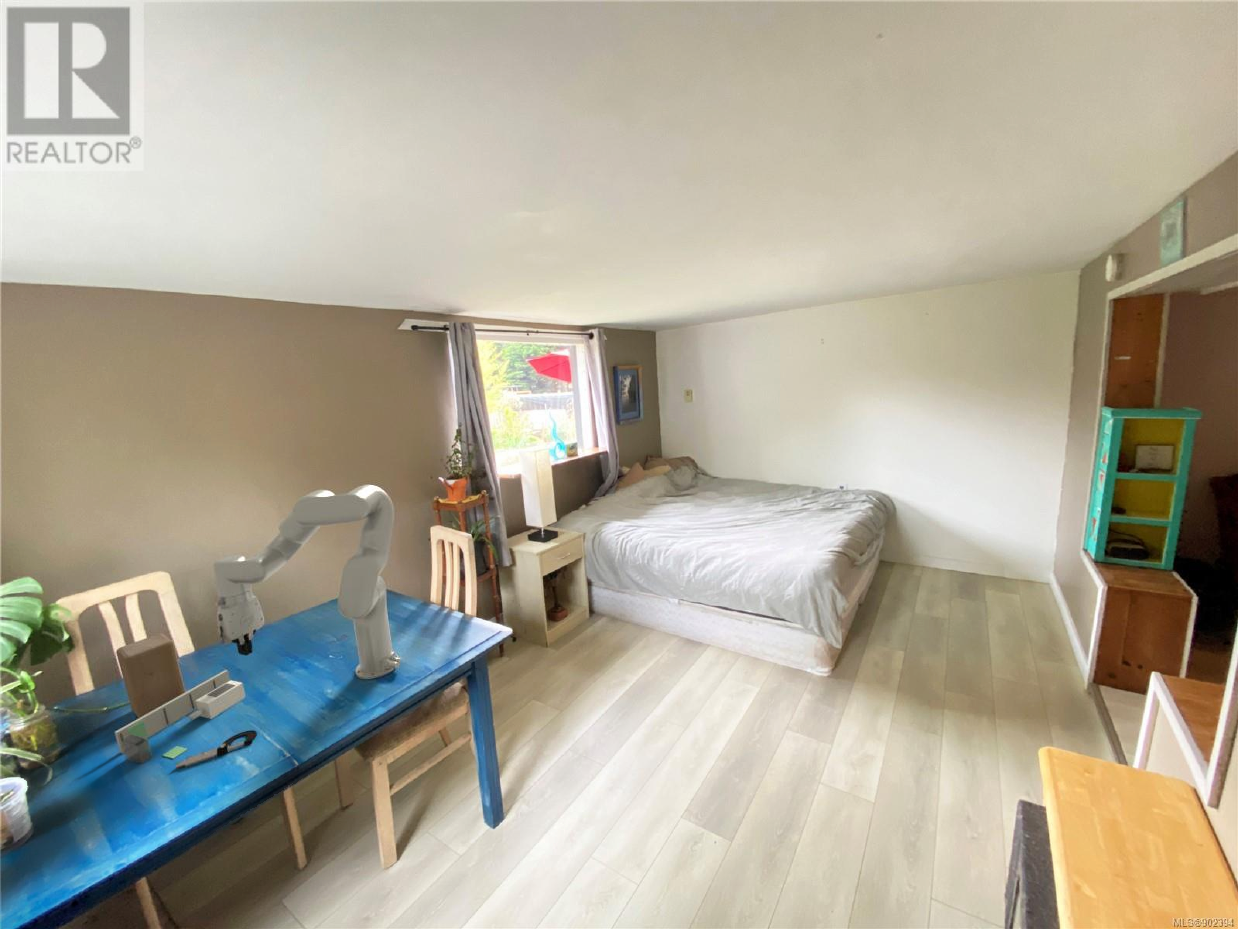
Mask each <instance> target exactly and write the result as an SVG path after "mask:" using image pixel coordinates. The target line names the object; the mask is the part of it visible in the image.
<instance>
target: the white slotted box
mask: <svg viewBox="0 0 1238 929" xmlns="http://www.w3.org/2000/svg"><path fill="white" fill-rule="evenodd" d="M243 684H244V683H243V682H241V681H236V680H232V679H230V681H228V682H227V683H225V684H223V685H222V686H220V687H218V688H216V689H215V690H213V691H211V692H210V693H208V694H206V695H204V696H203V697H201V698H199V699H198V700H196V705H197V709H196V710H195V711H193V712H191V714H188V718H189V720H190V721H193V720H195V719H197V718H198V717H203V718H205V719H210V720H212V719H214V718H216V717H217V716H218V715H220V714H222V713H223V712H225V711H226V710H229V709H230V708H231V707H233V706H235V705H236V704H237V703H239V702H241V701H242V700H243V699H244V700H245V698H246V693H245V692H246V691H245V688H244V685H243Z"/></svg>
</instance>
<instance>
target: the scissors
mask: <svg viewBox="0 0 1238 929" xmlns="http://www.w3.org/2000/svg"><path fill="white" fill-rule="evenodd" d="M257 736H258V731H257V730H254V729H253V730H246V731H242V732H239V733H238V734H237V733H236V734H234V735H233V736H230V737H229V738H227V739H226V740H225V741H223V742H222V743H221V744H220V745H219V747H217V748H212V749H209V750H207V751H203V752H201V753H198V754H194V755H191V756H188V757H186V758H185V759H184V760H183V761H179V762H176V763H175V768H176V769H180V768H183V767H185V768H188V767H191V766H194V765H196V764H199V763H202V762H206V761H208V760H212V759H215V758H216V757H219V756H222V755H226V754H229V752H230V750H234V749H236V748H237V749H238V748H239V747H243V746H247V745H249V744H251V743H252V744H253V741H254V739H256V737H257ZM243 737H246V739H245V740H244V741H241V742H238V743H235V744H233V742H235V741H236V740H237V739H240V738H243ZM232 744H233V745H232Z"/></svg>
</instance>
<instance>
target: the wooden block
mask: <svg viewBox="0 0 1238 929" xmlns="http://www.w3.org/2000/svg"><path fill="white" fill-rule="evenodd" d="M115 654H116V656H117V661H118V665H119V667H120V668H119V669H120V672H121V675H122V679H123V683H124V686H125V690H126V693H127V698H128V701H129V705H130V709H131V711H132V712H133V713H134V714H135V716H136V717H137V719H139V718H141V717H142V716H144V715H146V714H148V713H149V712H151V711H153V710H155V709H157V708H158V707H160V706H162V705H164V704H166V703H167V702H169V701H171V700H173V699H175V698H176V697H178V696H180V695H182V694H183V693H185V692H186V688H185V684H184V681H183V676H182V671H181V667H180V663H179V660H178V655H177V650H176V648H175V643H174V641H173V640H172V639H170V638H169V637H168V636H167V635H166V634H164V633H162V632H161V633H157V634H155V635H151V636H149V637H146V638H143V639H140V640H138V641H135V642H134V641H133V642H132V643H129V644H126V645H123V646H121V647H119V648H117V649H116V651H115Z"/></svg>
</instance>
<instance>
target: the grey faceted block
mask: <svg viewBox="0 0 1238 929" xmlns="http://www.w3.org/2000/svg"><path fill="white" fill-rule="evenodd" d="M122 740H123V741H122V745H123V748H124V754H125V758H126V760H127V761H128V760H129V761H130V762H131V761H132V762H135V763H137V764H141V765H142V764H145V763H146V762H148V761H149V760H151V759H152V758H153V754H152V751H151V750H152V749H151V746H150V743H149V740H148V739H144V738H141V737H138V736H134V735H129V736H128V737H126V738H124V739H122Z"/></svg>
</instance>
